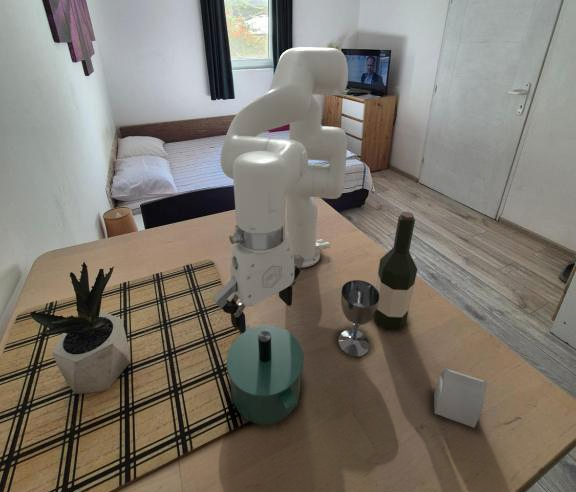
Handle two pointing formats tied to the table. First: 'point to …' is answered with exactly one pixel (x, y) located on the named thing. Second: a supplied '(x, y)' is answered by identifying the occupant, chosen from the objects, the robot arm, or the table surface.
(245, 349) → the lid
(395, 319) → the wine bottle
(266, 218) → the robot arm
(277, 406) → the pot
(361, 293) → the wine glass
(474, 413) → the white box
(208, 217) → the table surface
